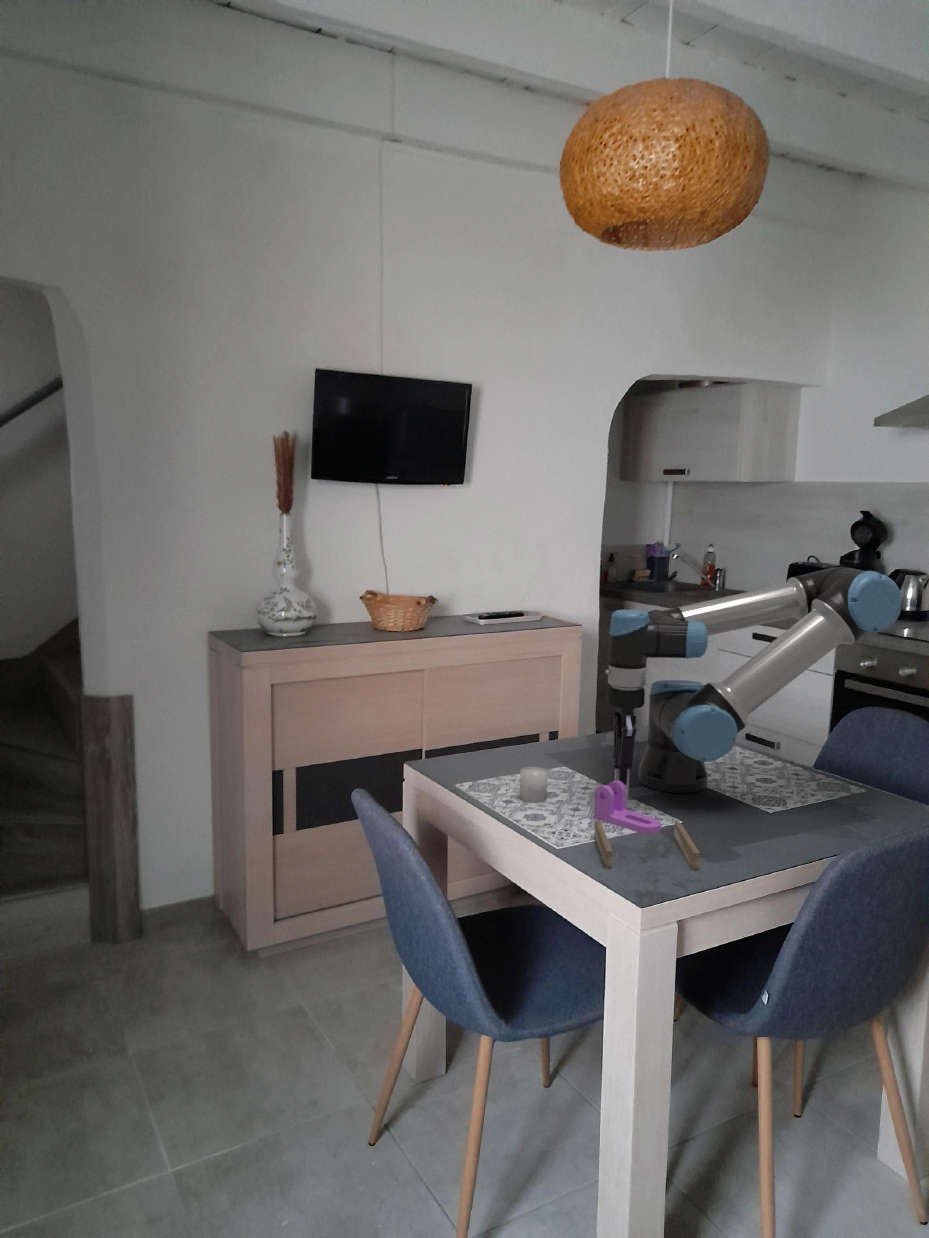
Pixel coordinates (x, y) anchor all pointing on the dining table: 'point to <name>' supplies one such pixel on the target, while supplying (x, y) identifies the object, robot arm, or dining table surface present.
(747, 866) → the dining table surface
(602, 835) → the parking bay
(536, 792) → the white pillar candle
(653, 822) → the bracket
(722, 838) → the dining table surface
